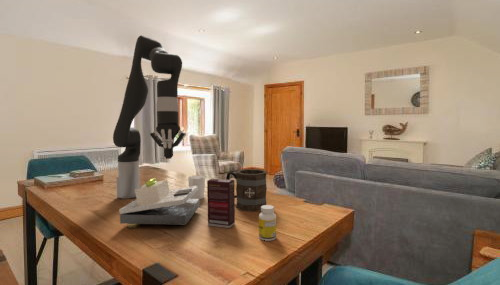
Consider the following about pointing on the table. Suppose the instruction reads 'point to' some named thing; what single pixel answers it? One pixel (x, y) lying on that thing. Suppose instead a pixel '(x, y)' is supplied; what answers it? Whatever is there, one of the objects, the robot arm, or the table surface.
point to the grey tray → (162, 215)
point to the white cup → (199, 182)
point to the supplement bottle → (267, 223)
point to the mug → (250, 189)
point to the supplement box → (221, 202)
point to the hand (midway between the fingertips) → (168, 158)
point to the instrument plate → (158, 196)
